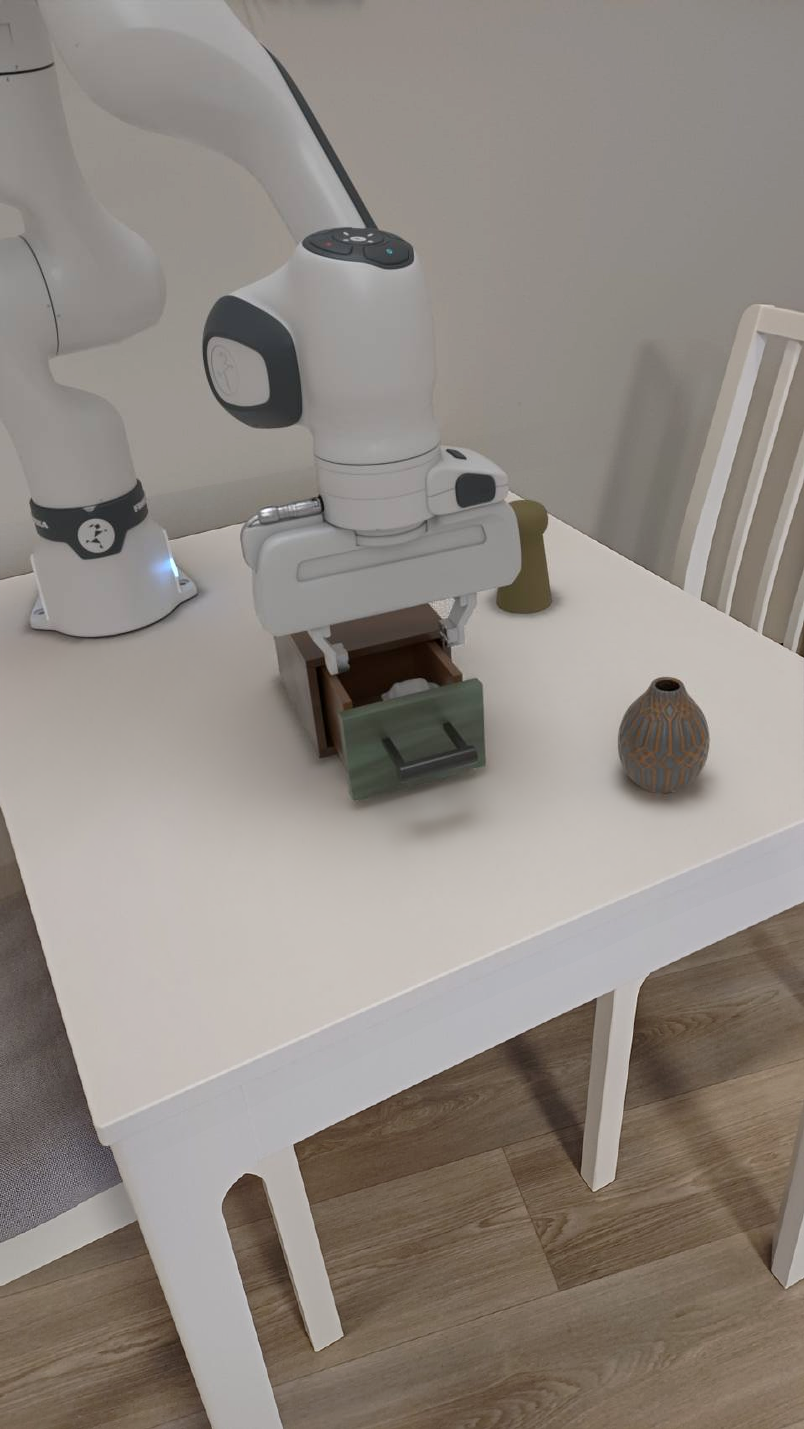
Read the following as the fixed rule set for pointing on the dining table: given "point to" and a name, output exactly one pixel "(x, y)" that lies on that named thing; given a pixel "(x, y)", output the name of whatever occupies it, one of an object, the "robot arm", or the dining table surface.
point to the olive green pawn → (528, 562)
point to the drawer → (402, 719)
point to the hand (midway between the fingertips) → (396, 656)
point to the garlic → (408, 688)
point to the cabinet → (359, 640)
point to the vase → (663, 738)
